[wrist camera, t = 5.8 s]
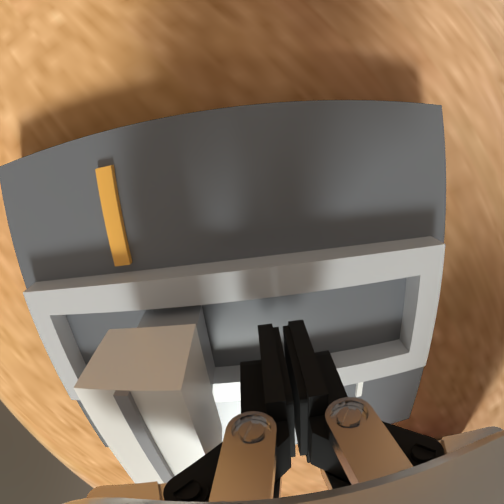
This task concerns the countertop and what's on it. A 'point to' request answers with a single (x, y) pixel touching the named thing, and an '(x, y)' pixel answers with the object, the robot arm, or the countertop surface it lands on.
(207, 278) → the board
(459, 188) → the countertop surface
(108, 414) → the fader knob
